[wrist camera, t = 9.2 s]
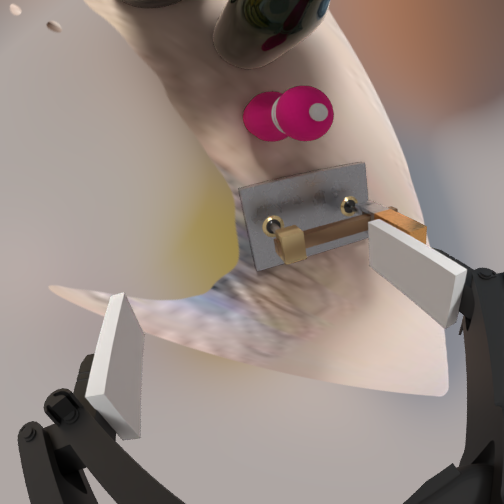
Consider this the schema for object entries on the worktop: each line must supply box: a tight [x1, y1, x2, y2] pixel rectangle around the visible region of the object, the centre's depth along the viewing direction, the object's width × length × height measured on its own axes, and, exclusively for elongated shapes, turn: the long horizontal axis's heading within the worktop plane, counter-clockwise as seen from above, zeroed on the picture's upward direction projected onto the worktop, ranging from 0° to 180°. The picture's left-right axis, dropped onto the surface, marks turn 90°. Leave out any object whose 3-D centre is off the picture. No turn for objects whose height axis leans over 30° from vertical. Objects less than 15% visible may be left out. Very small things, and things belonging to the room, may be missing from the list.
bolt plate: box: [238, 162, 369, 271], centre depth 50 cm, size 14×22×2 cm, turn 102°
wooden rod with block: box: [270, 207, 397, 265], centre depth 45 cm, size 4×20×9 cm, turn 102°
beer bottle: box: [213, 0, 330, 69], centre depth 23 cm, size 10×10×33 cm
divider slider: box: [350, 200, 427, 244], centre depth 42 cm, size 4×3×17 cm
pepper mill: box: [243, 86, 334, 142], centre depth 34 cm, size 7×7×20 cm
